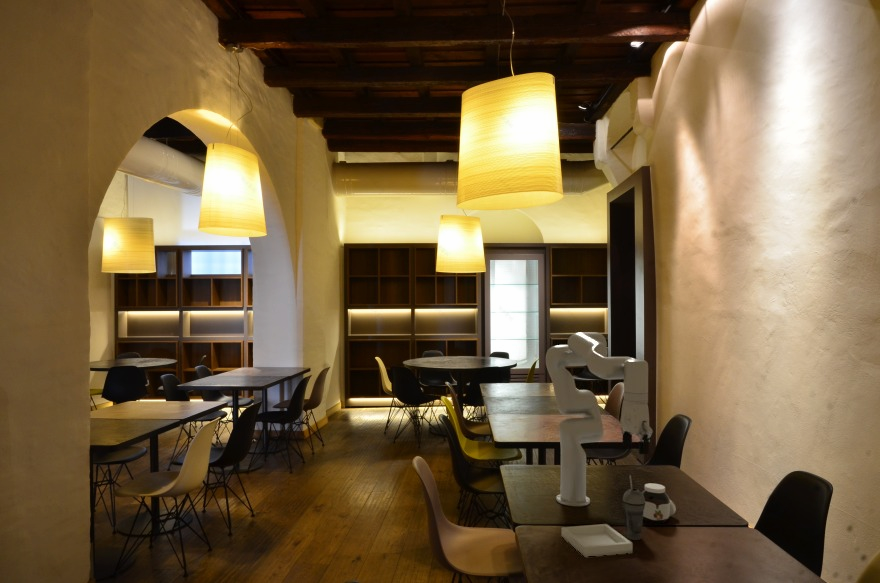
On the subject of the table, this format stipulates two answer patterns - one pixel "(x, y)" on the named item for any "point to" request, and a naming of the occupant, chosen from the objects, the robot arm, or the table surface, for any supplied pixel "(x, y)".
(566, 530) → the walled tray
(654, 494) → the spread jar
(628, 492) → the beverage cup
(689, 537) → the table surface
